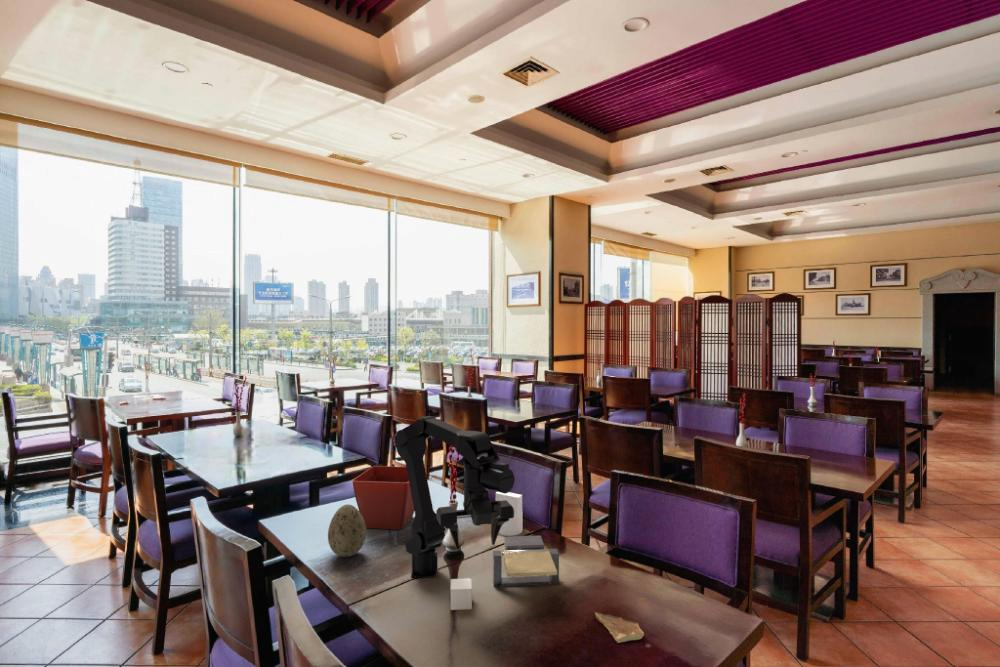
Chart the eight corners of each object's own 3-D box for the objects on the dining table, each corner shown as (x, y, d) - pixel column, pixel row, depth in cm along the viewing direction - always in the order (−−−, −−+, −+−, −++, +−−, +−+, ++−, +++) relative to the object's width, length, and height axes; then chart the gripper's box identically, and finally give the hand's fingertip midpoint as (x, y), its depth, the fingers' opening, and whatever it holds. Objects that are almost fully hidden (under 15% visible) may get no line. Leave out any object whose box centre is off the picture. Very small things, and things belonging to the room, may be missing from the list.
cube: (450, 610, 123) (450, 589, 123) (450, 599, 128) (450, 579, 128) (471, 609, 123) (471, 588, 123) (471, 598, 128) (471, 578, 128)
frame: (493, 586, 134) (493, 555, 134) (493, 581, 137) (493, 550, 137) (558, 584, 135) (558, 553, 135) (556, 578, 138) (556, 548, 138)
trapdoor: (506, 581, 124) (506, 569, 123) (500, 546, 142) (500, 536, 142) (558, 578, 125) (558, 567, 124) (544, 545, 143) (544, 535, 143)
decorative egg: (333, 567, 144) (333, 513, 144) (323, 553, 154) (323, 502, 153) (371, 558, 150) (371, 506, 150) (359, 544, 159) (359, 496, 159)
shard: (594, 617, 121) (594, 609, 121) (624, 613, 123) (624, 605, 123) (615, 645, 110) (616, 637, 110) (648, 640, 112) (648, 632, 112)
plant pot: (373, 511, 188) (373, 464, 188) (424, 513, 186) (424, 466, 185) (351, 531, 169) (350, 480, 169) (407, 535, 167) (407, 483, 166)
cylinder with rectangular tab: (527, 528, 172) (527, 492, 172) (513, 537, 165) (513, 500, 164) (504, 523, 177) (504, 488, 177) (489, 531, 170) (489, 495, 169)
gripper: (445, 498, 118) (445, 566, 119) (522, 490, 124) (521, 555, 124) (435, 484, 129) (435, 546, 129) (507, 477, 135) (506, 537, 135)
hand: (475, 546), depth 129 cm, fingers open, 9 cm apart
